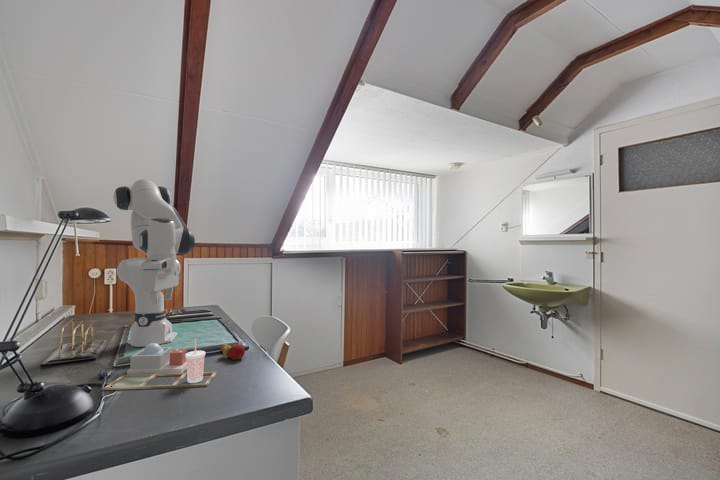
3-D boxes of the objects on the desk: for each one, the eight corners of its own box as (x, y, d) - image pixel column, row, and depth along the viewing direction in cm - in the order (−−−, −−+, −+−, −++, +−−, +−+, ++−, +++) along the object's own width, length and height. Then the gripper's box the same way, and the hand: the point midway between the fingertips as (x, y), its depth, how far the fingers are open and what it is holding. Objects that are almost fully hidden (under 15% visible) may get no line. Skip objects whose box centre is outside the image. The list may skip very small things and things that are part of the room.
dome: (147, 358, 128) (147, 340, 128) (166, 358, 129) (167, 340, 129) (137, 365, 121) (137, 346, 121) (158, 365, 122) (158, 345, 122)
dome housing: (144, 362, 130) (145, 346, 130) (194, 361, 132) (194, 345, 132) (127, 374, 118) (127, 357, 118) (181, 372, 120) (181, 355, 120)
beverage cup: (184, 385, 110) (184, 341, 110) (185, 378, 116) (186, 336, 116) (205, 382, 112) (205, 339, 113) (205, 375, 118) (205, 335, 118)
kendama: (213, 355, 143) (227, 361, 129) (215, 340, 145) (230, 343, 131) (231, 355, 148) (247, 360, 134) (233, 340, 149) (249, 344, 136)
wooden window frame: (123, 376, 117) (123, 374, 117) (217, 373, 120) (217, 371, 120) (102, 390, 106) (102, 388, 106) (206, 386, 109) (206, 384, 109)
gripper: (166, 262, 132) (166, 297, 132) (137, 264, 112) (137, 306, 111) (183, 261, 133) (183, 297, 132) (157, 264, 112) (157, 306, 112)
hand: (162, 301), depth 122 cm, fingers open, 8 cm apart
